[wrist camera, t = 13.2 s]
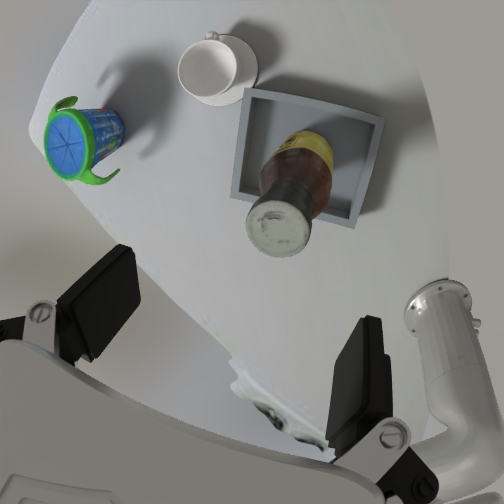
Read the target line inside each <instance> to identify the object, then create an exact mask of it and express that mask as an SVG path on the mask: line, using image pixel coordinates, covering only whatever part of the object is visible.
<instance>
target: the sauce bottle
mask: <svg viewBox="0 0 504 504" xmlns="http://www.w3.org/2000/svg"><path fill="white" fill-rule="evenodd" d="M332 179H333V151H332V148H331V146H330V144H329V142H328V141H327V140H326V139H325V138H324V137H323V136H322V135H320V134H319V133H317V132H315V131H311V130H308V131H299V132H296V133H294V134H292V135H290V136H289V137H288V138H287V139H286V140H285V141H284V142H283V143H282V144H281V146H280V147H279V148H278V149H277V150H276V151H275V152H274V153H273V155H272V156H271V157H270V158H269V160H268V161H267V162H266V163H265V165H264V166H263V168H262V170H261V172H260V176H259V187H260V191H261V196H262V197H260V198H259V199H258V200H256V202H255V203H254V204H253V206H252V208H251V210H250V212H249V214H248V216H247V219H246V230H247V234H248V237H249V239H250V240H251V242H252V243H253V244H254V246H255V247H256V248H257V249H258V250H260V251H261V252H263V253H264V254H267V255H269V256H273V257H282V258H283V257H288V256H293V255H295V254H297V253H299V252H300V251H301V250H302V249H303V248H304V247H305V246H306V244H307V242H308V240H309V237H310V234H311V228H312V219H314V218H316V217H317V216H318V215H319V214H320V213H321V212H322V211H323V210H324V209H325V207H326V205H327V204H328V201H329V198H330V191H331V188H332Z"/></svg>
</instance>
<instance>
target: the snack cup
mask: <svg viewBox="0 0 504 504" xmlns="http://www.w3.org/2000/svg"><path fill="white" fill-rule="evenodd" d="M77 100H78V97H76V96H71V97H67V98H64V99H62V100H60V101H59V102H57V103H56V104H55V106H54V107H53V109H52V110H51V112H50V114H49V117H48V123H47V125H46V128H45V132H44V150H45V155H46V158H47V161H48V163H49V165H50V167H51V168H52V170H53V171H54V173H55V174H56V175H57V176H58V177H60V178H61V179H63V180H66V181H73V180H80V181H82V182H84V183H86V184H90V185H101V184H105V183H107V182H108V181H110V180H111V179H112V178H113V177H114V176H115V175H116V174H117V173H118V172H119V171H120V169H117V170H116V171H115V172H114V173H112V174H111V175H109V176H108V177H106V178H101V177H99V176H96V175H94V174H93V173H92V172H91V169H92V168H93V167H94V166H95V165H96V164H97V163H98V162H99V161H101V160H103V159H104V158H105V157H107V156H108V155H110V154H111V153H113V152H114V151H115V150H116V149H118V147H119V145H120V143H121V141H122V138H123V131H124V125H123V124H122V122H121V119H120V118H119V116H118V115H117V114H116V113H115V112H114V111H113V110H109V109H82V110H77V109H71V108H70V109H63V110H60V111H57V110H58V109H61V108H68V107H71V106H73V105H74V104H75V103H76V102H77Z"/></svg>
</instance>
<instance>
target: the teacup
mask: <svg viewBox="0 0 504 504" xmlns="http://www.w3.org/2000/svg"><path fill="white" fill-rule="evenodd" d="M257 74H258V63H257V58H256V56H255V54H254V52H253V50H252V49H251V47H250V46H249V45H248V44H247V43H246V42H244V41H243V40H241V39H239V38H237V37H234V36H230V35H218V33H217V32H215V31H210V32H208V33H207V35H206V39H205V40H202V41H199V42H196V43H194V44H193V45H191V46H190V47H189V48H188V49H187V50H186V51H185V52H184V53H183V55H182V57H181V59H180V61H179V65H178V77H179V81H180V83H181V85H182V86H183V88H184V89H185V90H186V91H187V92H188V93H190V94H191V95H193V96H194V97H196V98H197V99H198V100H200V101H201V102H203V103H205V104H208V105H212V106H225V105H230V104H233V103H235V102H237V101H239V100H240V99H242V98H243V93H244V87H245V88H252V87H253V85H254V83H255V81H256V78H257Z"/></svg>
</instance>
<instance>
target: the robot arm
mask: <svg viewBox="0 0 504 504" xmlns="http://www.w3.org/2000/svg"><path fill="white" fill-rule="evenodd" d="M140 301H141V297H140V290H139V283H138V275H137V267H136V259H135V253H134V252H133V250H132V248H131V247H128V246H125V245H122V244H118V245H117V246H115V247H114V248H113V249H112V250H111V251H109V252H108V253H107V254H106V255H105V256H104V257H103V258H102V259H100V260H99V261H98V262H97V263H96V264H95V265H94V266H92V267H91V268H90V269H89V270H88V271H87V272H86V273H85V274H84V275H83V276H82V277H81V278H80V279H78V280H77V281H76V282H75V283H74V284H73V285H72V286H71V287H70V288H69V289H68V290H67V291H66V292H65V293H64V294H63V295H62V296H61V297H60V298H59V299H58V300H57V304H56V305H54V303H52V302H51V301H48V300H41V301H38V302H36V303H34V304H33V305H31V306H30V308H29V309H28V310H27V314H26V316H21V317H16V318H11V319H6V320H1V321H0V504H443V503H444V502H448V501H451V500H455V499H458V498H461V497H464V496H467V495H469V494H472V493H474V492H477V491H479V490H482V489H483V488H485V487H487V486H489V485H491V484H492V483H494V482H495V481H496V480H497V479H499V478H500V477H501V476H502V474H503V473H504V421H503V418H502V415H501V412H500V409H499V406H498V403H497V400H496V397H495V394H494V390H493V386H492V383H491V379H490V375H489V372H488V369H487V365H486V362H485V359H484V355H483V352H482V349H481V346H480V343H479V340H478V335H479V331H478V330H477V329H474V327H480V325H481V320H479V319H473V317H472V315H471V312H470V310H471V306H472V300H471V296H470V293H469V291H468V289H467V288H466V287H465V286H464V285H463V284H461V283H460V282H457V281H454V280H441V281H437V282H434V283H431V284H429V285H427V286H425V287H424V288H422V289H421V290H420V291H418V292H417V293H416V294H415V295H414V296H413V297H412V298H411V300H410V301H409V303H408V305H407V307H406V310H405V315H404V316H405V324H406V327H407V329H408V331H409V332H410V333H411V334H412V335H414V336H415V337H417V340H418V345H419V351H420V357H421V363H422V370H423V377H424V385H425V393H426V401H427V407H428V410H429V412H430V413H431V415H432V416H433V417H434V418H435V419H436V420H438V421H439V422H441V423H442V424H444V425H445V426H447V427H448V429H447V430H446V431H445V432H443V433H441V434H438V435H436V436H435V437H432V438H430V439H427V440H424V441H421V442H418V443H415V444H412V445H410V442H411V432H410V429H409V427H408V426H407V425H406V423H405V422H403V421H402V420H401V419H398V418H395V417H393V396H392V373H391V360H390V356H389V355H387V354H384V343H383V331H382V321H381V318H377V317H373V316H369V315H366V316H365V318H360V319H359V321H358V323H357V325H356V327H355V328H354V330H353V332H352V334H351V336H350V337H349V339H348V341H347V343H346V344H345V346H344V348H343V349H342V351H341V353H340V355H339V356H338V358H337V360H336V362H335V366H334V375H333V385H332V393H331V401H330V409H329V416H328V423H327V429H326V436H325V439H326V440H329V444H328V447H329V448H335V454H334V455H335V456H336V457H335V458H334V459H333V460H331V461H330V462H329V463H327V462H322V461H317V460H313V459H309V458H305V457H299V456H295V455H290V454H286V453H282V452H278V451H274V450H270V449H266V448H262V447H258V446H255V445H251V444H248V443H244V442H241V441H237V440H234V439H231V438H228V437H225V436H221V435H218V434H215V433H213V432H210V431H207V430H204V429H201V428H198V427H196V426H193V425H191V424H188V423H185V422H183V421H180V420H178V419H175V418H173V417H171V416H168V415H166V414H163V413H161V412H159V411H157V410H155V409H152V408H150V407H148V406H146V405H144V404H141V403H140V402H137V401H135V400H133V399H131V398H129V397H127V396H125V395H123V394H121V393H120V392H118V391H115V390H114V389H112V388H110V387H108V386H106V385H105V384H103V383H101V382H99V381H98V380H96V379H94V378H92V377H91V376H89V375H87V374H85V373H84V372H82V371H81V370H79V364H78V360H79V358H80V357H82V358H83V359H85V360H86V361H88V362H90V363H91V362H92V361H93V360H94V358H98V357H99V356H100V355H101V353H102V352H103V350H104V349H105V348H106V347H107V345H108V344H109V343H110V342H111V340H112V339H113V338H114V336H115V335H116V334H117V332H118V331H119V330H120V329H121V327H122V326H123V325H124V323H125V322H126V321H127V320H128V319H129V317H130V316H131V315H132V314H133V312H134V311H135V310H136V308H137V307H138V306H139V304H140ZM452 504H504V500H503V498H502V496H501V495H500V494H499V493H497V492H489V493H484V494H481V495H477V496H474V497H471V498H468V499H464V500H461V501H458V502H455V503H452Z"/></svg>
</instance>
